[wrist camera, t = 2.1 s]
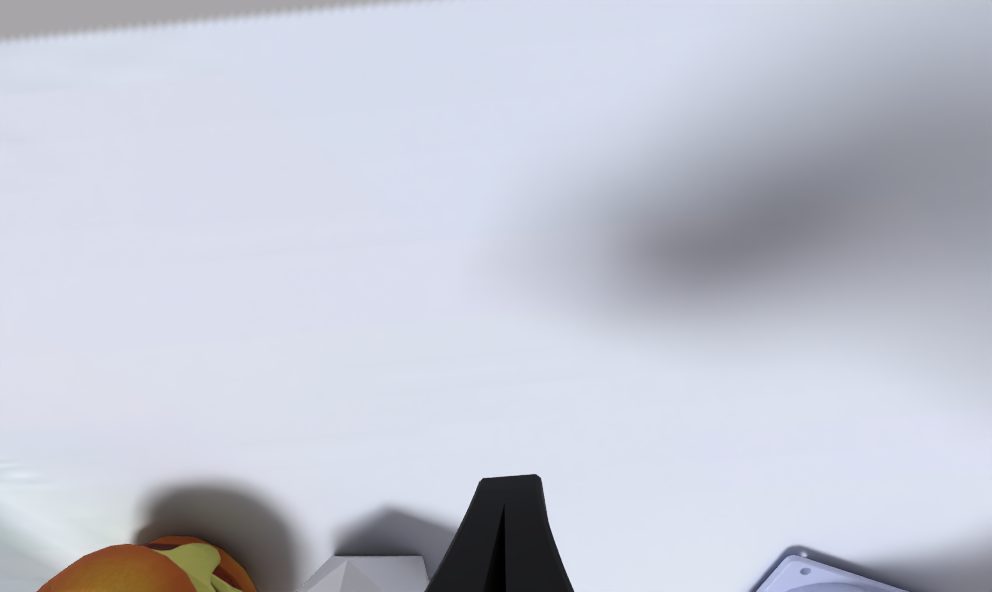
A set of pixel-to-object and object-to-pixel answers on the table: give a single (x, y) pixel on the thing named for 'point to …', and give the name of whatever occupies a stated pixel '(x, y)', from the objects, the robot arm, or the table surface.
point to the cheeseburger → (154, 569)
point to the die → (369, 575)
